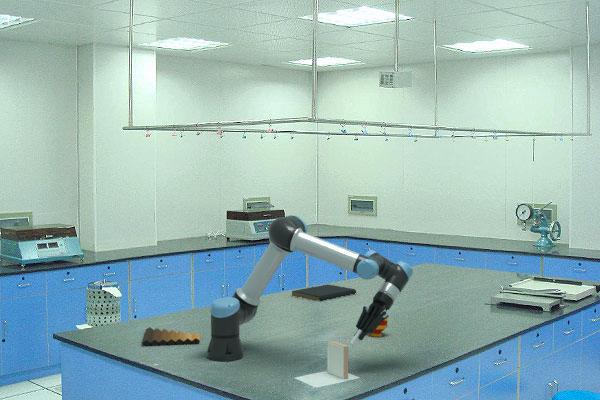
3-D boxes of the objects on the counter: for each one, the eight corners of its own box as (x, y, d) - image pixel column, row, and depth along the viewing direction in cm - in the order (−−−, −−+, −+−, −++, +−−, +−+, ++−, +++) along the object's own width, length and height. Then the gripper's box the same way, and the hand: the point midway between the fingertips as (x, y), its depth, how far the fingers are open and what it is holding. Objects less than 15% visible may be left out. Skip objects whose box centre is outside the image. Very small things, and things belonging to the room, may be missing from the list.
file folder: (327, 283, 438) (356, 288, 421) (327, 290, 438) (356, 295, 421) (291, 290, 414) (320, 296, 397) (291, 297, 414) (320, 303, 397)
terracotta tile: (331, 371, 256) (331, 340, 256) (348, 378, 248) (348, 345, 248) (327, 372, 255) (327, 341, 255) (343, 379, 247) (343, 346, 246)
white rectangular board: (336, 370, 260) (336, 368, 260) (360, 379, 249) (360, 377, 249) (293, 379, 249) (293, 377, 249) (316, 389, 237) (316, 387, 237)
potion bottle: (375, 331, 322) (375, 300, 322) (392, 335, 315) (392, 303, 314) (360, 335, 316) (360, 303, 315) (376, 339, 308) (377, 306, 307)
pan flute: (145, 334, 321) (142, 347, 296) (145, 327, 320) (142, 340, 296) (199, 332, 325) (200, 345, 300) (199, 325, 324) (199, 337, 300)
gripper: (402, 305, 260) (369, 355, 251) (379, 300, 271) (347, 347, 262) (392, 292, 257) (358, 343, 248) (369, 288, 267) (336, 336, 258)
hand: (352, 345), depth 255 cm, fingers closed
